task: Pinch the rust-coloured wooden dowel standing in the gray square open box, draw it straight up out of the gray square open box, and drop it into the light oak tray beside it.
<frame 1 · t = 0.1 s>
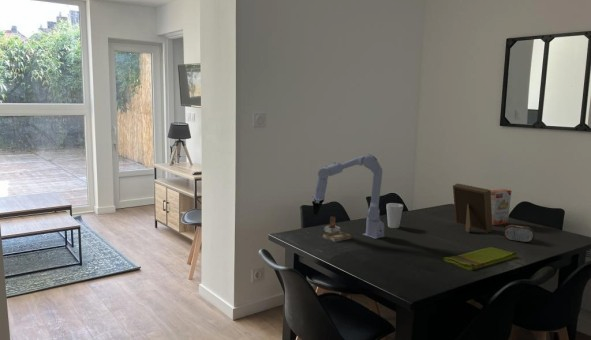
hand: (315, 212, 260), 11 cm above the table, tool pointing down, fingers open, 7 cm apart
cracker box: (497, 224, 288), on the table
pin: (332, 231, 261), resting on gray square open box
gray square open box: (332, 232, 261), on the table
photo frame: (467, 229, 275), on the table
tin: (518, 241, 253), on the table
foam cup: (393, 227, 275), on the table
dish towel: (480, 260, 223), on the table
tray: (337, 238, 249), on the table
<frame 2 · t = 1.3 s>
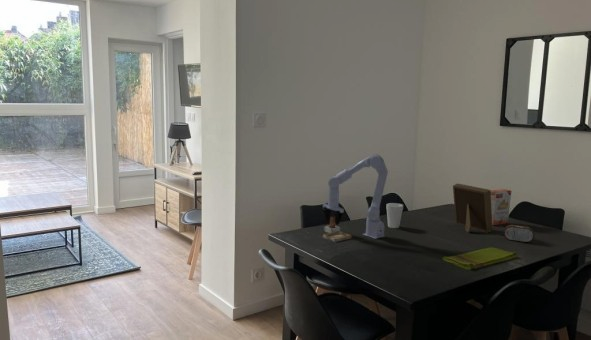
hand: (332, 222, 260), 5 cm above the table, tool pointing down, fingers open, 7 cm apart
nothing on the table moved.
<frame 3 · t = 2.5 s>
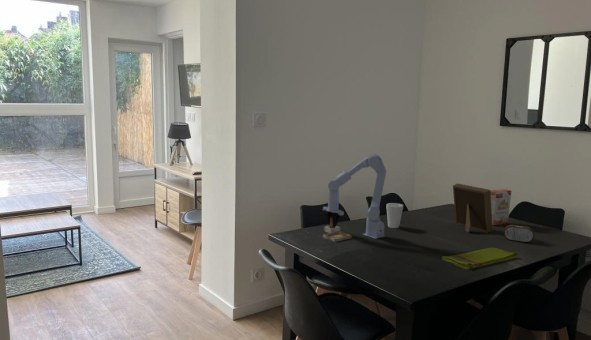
hand: (332, 225, 260), 4 cm above the table, tool pointing down, fingers closed on pin, 3 cm apart
pin: (332, 231, 261), resting on gray square open box, touching gripper
everything else where it was.
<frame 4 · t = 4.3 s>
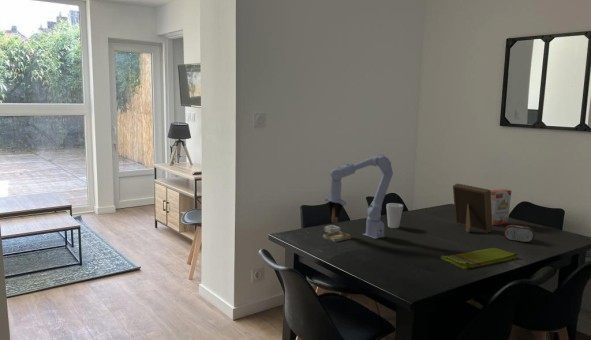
hand: (334, 215, 255), 10 cm above the table, tool pointing down, fingers closed on pin, 3 cm apart
pin: (334, 222, 255), point 7 cm above the table, touching gripper
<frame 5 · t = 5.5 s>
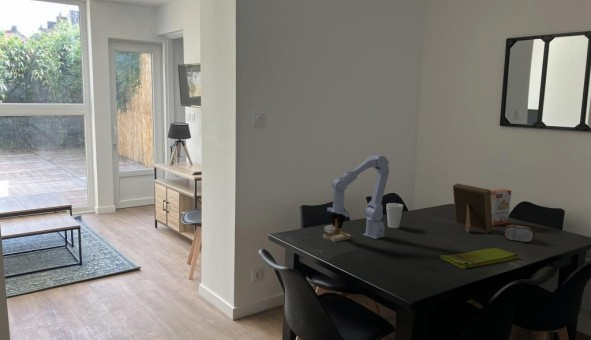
hand: (337, 227, 248), 6 cm above the table, tool pointing down, fingers closed on pin, 3 cm apart
pin: (337, 233, 249), point 3 cm above the table, touching gripper
when the fingers open (5 cm above the table, at t = 6.4 s): pin drops 1 cm, resting on tray.
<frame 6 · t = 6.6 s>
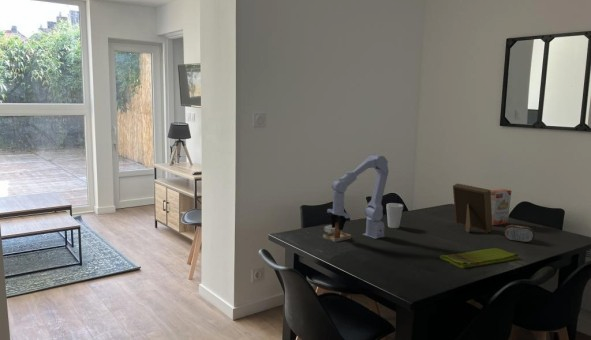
hand: (337, 228, 248), 5 cm above the table, tool pointing down, fingers open, 5 cm apart
pin: (337, 237, 249), point 1 cm above the table, touching tray
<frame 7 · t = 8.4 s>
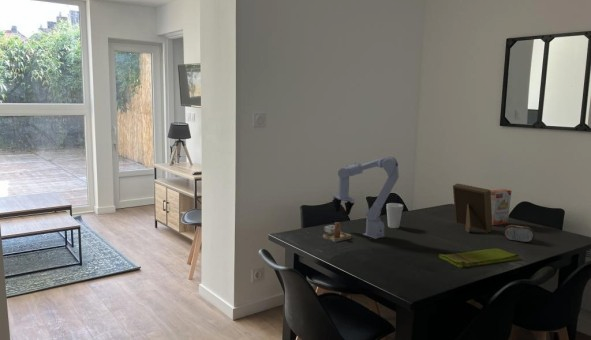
hand: (342, 213, 261), 10 cm above the table, tool pointing down, fingers open, 7 cm apart
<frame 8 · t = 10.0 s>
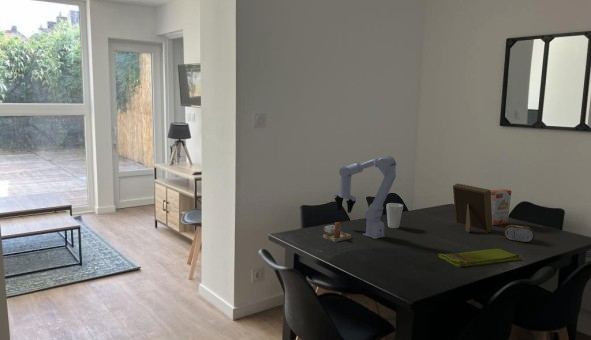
hand: (344, 211, 266), 10 cm above the table, tool pointing down, fingers open, 7 cm apart
at the end: pin inside the target area on the tray (0.0 cm from its centre), point 0.5 cm above the tray's base; the gripper is holding nothing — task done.
